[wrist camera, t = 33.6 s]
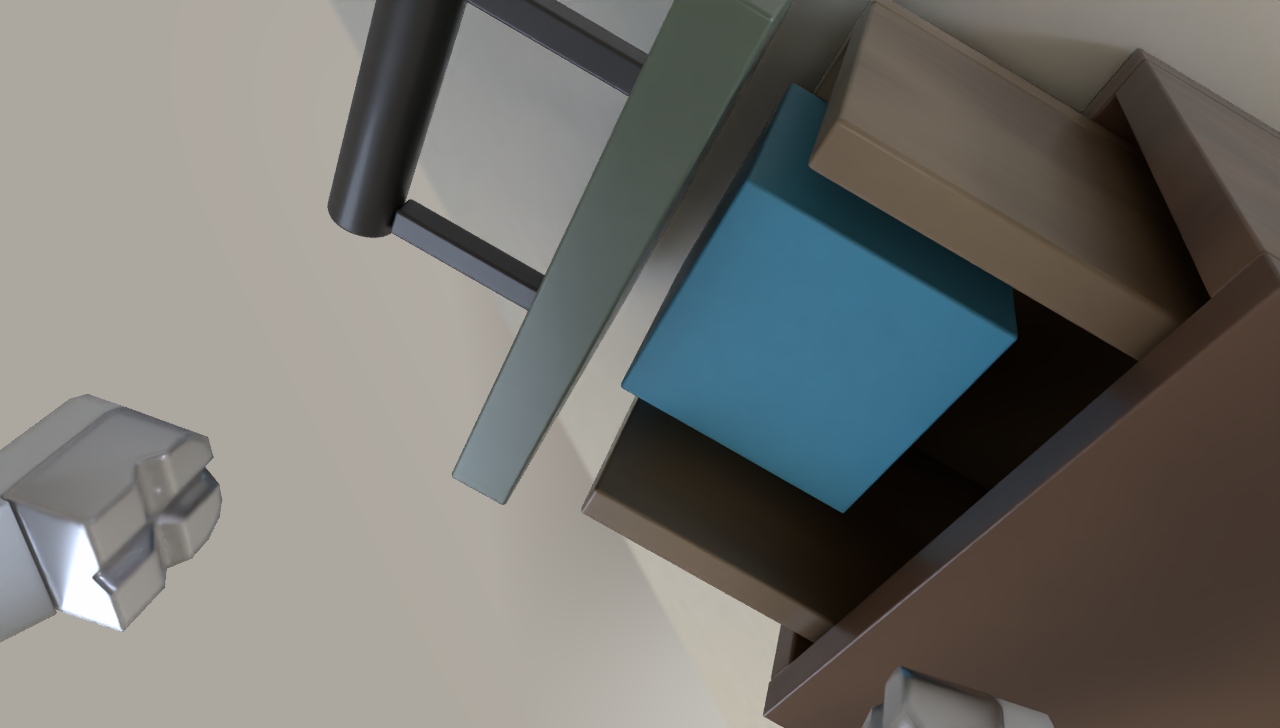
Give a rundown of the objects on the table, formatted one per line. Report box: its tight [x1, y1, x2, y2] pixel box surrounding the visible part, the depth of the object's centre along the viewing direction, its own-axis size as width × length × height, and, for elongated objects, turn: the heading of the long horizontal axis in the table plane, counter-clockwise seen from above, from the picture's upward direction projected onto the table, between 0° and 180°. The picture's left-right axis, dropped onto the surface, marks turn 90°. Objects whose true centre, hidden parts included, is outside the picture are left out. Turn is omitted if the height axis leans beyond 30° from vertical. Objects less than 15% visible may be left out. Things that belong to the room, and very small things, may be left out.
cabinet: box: [763, 49, 1280, 728], centre depth 17 cm, size 15×12×10 cm
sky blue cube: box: [621, 83, 1018, 513], centre depth 17 cm, size 5×5×5 cm
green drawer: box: [328, 0, 1211, 643], centre depth 17 cm, size 18×10×8 cm, turn 64°
